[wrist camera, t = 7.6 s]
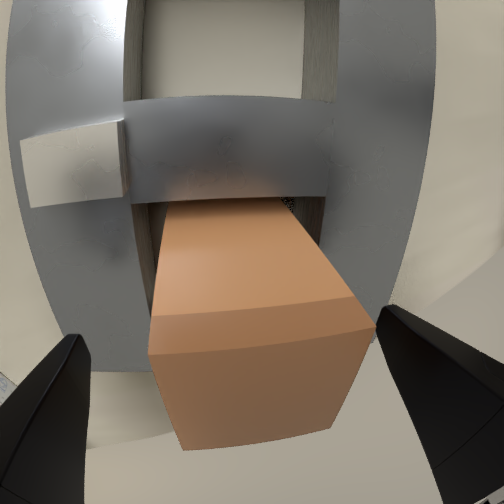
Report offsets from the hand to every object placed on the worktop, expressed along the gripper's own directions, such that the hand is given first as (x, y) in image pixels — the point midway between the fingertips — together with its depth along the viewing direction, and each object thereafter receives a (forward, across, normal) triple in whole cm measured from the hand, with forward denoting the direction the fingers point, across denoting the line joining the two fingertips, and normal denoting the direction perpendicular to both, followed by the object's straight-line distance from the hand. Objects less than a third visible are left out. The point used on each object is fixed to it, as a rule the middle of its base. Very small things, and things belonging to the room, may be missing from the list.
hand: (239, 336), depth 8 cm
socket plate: (+6, 0, -4) cm, 7 cm away
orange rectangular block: (+6, 0, 0) cm, 6 cm away
